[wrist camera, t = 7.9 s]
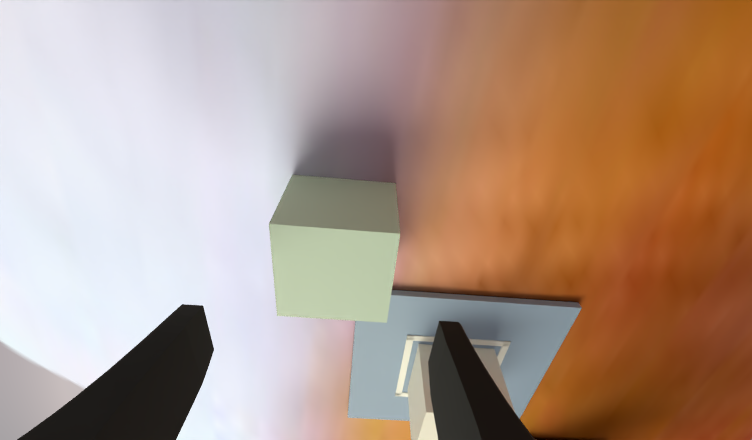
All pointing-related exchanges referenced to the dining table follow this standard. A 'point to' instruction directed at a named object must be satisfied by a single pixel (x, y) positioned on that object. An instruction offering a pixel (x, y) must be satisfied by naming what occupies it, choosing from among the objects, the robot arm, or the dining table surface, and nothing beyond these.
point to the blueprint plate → (484, 330)
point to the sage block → (335, 248)
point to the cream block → (419, 390)
